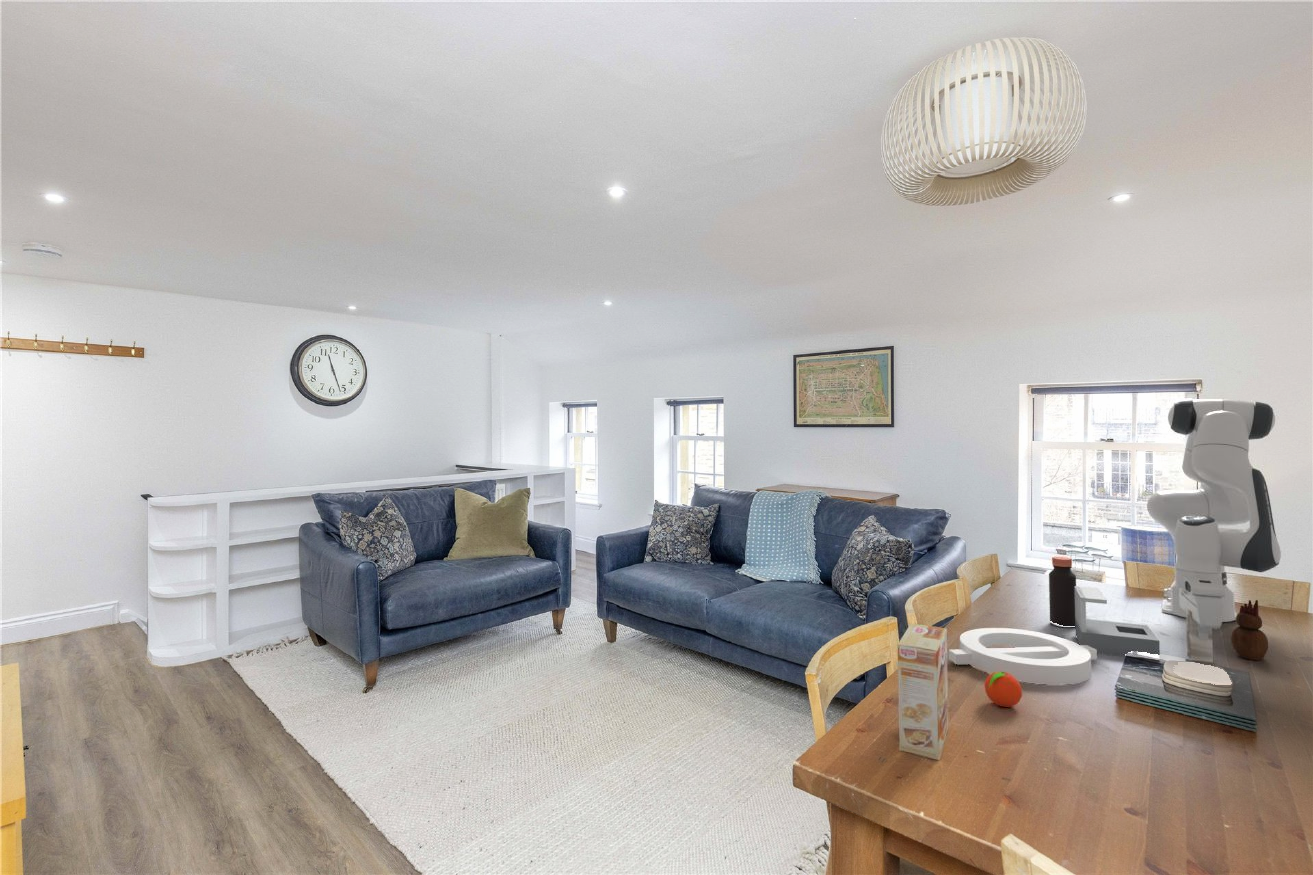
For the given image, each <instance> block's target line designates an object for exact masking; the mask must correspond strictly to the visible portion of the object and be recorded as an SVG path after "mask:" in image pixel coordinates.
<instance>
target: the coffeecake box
mask: <svg viewBox="0 0 1313 875" xmlns="http://www.w3.org/2000/svg"><path fill="white" fill-rule="evenodd" d="M947 633H948V629H947V627H946V628H945V627H940V626H934V625H926V624H925V625H924V624H918V623H910V624H909V626H908V627H907V629H906V631H905V632H904V634H903V636H902V637H901V638H900V640H899V641H898V642H897V673H898V674H897V676H898V679H897V682H898V684H897V686H898V687H897V688H898V735H899V736H898V739H899V741H898V742H899V744H898V745H899V748H898V750H899V751H900V752H905V753H909V754H912V755H913V754H914V755H918V756H921V757H924V758H928V759H933V760H936V761H940V759H941V756H942V752H943V749H944V745H945V741H946V738H947V734H948V730H949V701H948V700H949V696H948V695H949V694H948V693H949V692H948V691H949V690H948V640H947V639H948V638H947V637H948V636H947V635H948V634H947Z"/></svg>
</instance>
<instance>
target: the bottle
mask: <svg viewBox="0 0 1313 875" xmlns="http://www.w3.org/2000/svg"><path fill="white" fill-rule="evenodd" d="M1051 562H1052V563H1051V565H1052V567H1053V569H1052V570H1051V571H1050V572H1049V573H1048V592H1049V595H1048V596H1049V599H1048V600H1049V622H1050V621H1052V622H1053V623H1057V624H1059V625H1063V626H1075V587H1074V586H1077V576H1076V574H1075V573H1074V572H1073V571H1072V570H1071V569H1072V568H1073V567H1072V566H1073V559H1072V558H1071V557H1068V556H1052V557H1051Z"/></svg>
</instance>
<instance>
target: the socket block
mask: <svg viewBox="0 0 1313 875" xmlns="http://www.w3.org/2000/svg"><path fill="white" fill-rule="evenodd" d="M1074 587H1075V627H1074V629H1075V630H1074V631H1075V637H1076V636H1077V638H1078V640H1077V642H1078V641H1079V642H1078V644H1079V643H1080V645H1088V646H1090V647H1092V648H1094V649H1096V650H1097V654H1102V653H1103V655H1110V654H1112V655H1111V656H1119V657H1126V656H1125V654H1127V653H1128V652H1131V651H1138V652H1147V653H1150V654H1158V655H1160V656H1161V649H1160V639H1159V638H1158V636H1156V635H1155V634H1154V632H1153V631H1152V629H1151V628H1149V625H1147V624H1137V623H1129V622H1120V621H1119V622H1118V621H1109V620H1098V619H1089V618H1087V606H1086V605H1087V603H1090V604H1091V603H1092V604H1103V605H1107V604H1108V601H1107V598H1106V596H1105V595H1104V594H1103V593H1102V591H1101V590H1100V589H1099V587H1090V586H1088V587H1087V586H1081V585H1080V586H1079V585H1078V586H1077V585H1076V586H1074ZM1077 638H1076V639H1077Z"/></svg>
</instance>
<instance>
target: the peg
mask: <svg viewBox="0 0 1313 875" xmlns="http://www.w3.org/2000/svg"><path fill="white" fill-rule="evenodd" d="M1185 619H1186V620H1185V621H1186V622H1185V623H1186V655H1187V657H1189V659H1190V660H1191V659H1192V660H1191V661H1197V662H1206V663H1211V664H1212V663H1214V659H1213V658H1214V652H1213V628H1210V630H1209V633H1208V640H1207V641H1205V640H1200V639H1199V638H1198V637H1197V631H1198V625H1197V622H1196V621H1195V620H1194V619H1193V618H1192V612H1191V611H1190V610H1189V609H1188V608H1186V617H1185Z"/></svg>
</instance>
